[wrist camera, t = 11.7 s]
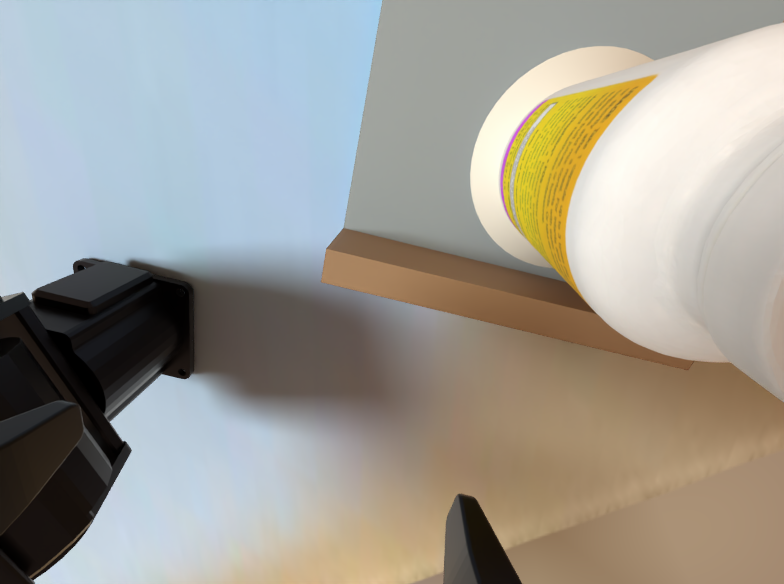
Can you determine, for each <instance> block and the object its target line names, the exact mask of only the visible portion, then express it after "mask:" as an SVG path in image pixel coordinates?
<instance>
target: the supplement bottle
mask: <svg viewBox="0 0 784 584" xmlns="http://www.w3.org/2000/svg"><path fill="white" fill-rule="evenodd" d="M498 185H499V193H500V198H501V202H502V205H503V208H504V210H505V213H506V215H507V216H508V218H509V220H510V221H511V223H512V224H513V225H514V227H515V228H516V229H517V230H518V231H519V232H520V234H521V235H522V236H523V237H524V238H525V239H526V240H527V241H528V242H529V243H530V244H531V245H532V246H533V247H534V248H535V249H536V250H537V251H538V252H539V253H540V254H541V255H542V256H543V258H544V259H545V260H546V261H547V262H548V263H549V264H550V265H551V266H552V267H553V268H554V269H555V270H556V271H557V272H558V273H559V274H560V275H561V276H562V277H563V278H564V280H565V281H566V282H567V283H568V284H569V285H570V286H571V287H572V288H573V289H574V290H575V291H576V292H577V293H578V294H579V295H580V296H581V298H582V299H583V300H584V301H585V302H586V303H587V304H588V305H589V306H590V307H591V308H592V309H593V310H594V311H595V312H596V313H597V314H598V315H599V316H600V317H601V318H602V319H603V320H604V321H605V322H606V323H607V324H608V325H609V326H610V327H612V328H613V329H614V330H616V331H617V332H619V333H620V334H621V335H623V336H624V337H626V338H628V339H629V340H631V341H633V342H634V343H636V344H638V345H641V346H643V347H645V348H648V349H650V350H653V351H655V352H658V353H661V354H664V355H667V356H671V357H676V358H681V359H686V360H693V361H703V362H731V363H732V364H733V365H734V366H736V367H737V368H738V369H739V370H741V371H742V372H743V373H745V374H746V375H747V376H749V377H750V378H751V379H753V380H754V381H755V382H757V383H758V384H759V385H761V386H762V387H763V388H765V389H766V390H767V391H769V392H770V393H771V394H773V395H774V396H776V397H777V398H778V399H780V400H781V401H782V402H784V23H779V24H774V25H770V26H766V27H763V28H760V29H756V30H753V31H749V32H746V33H743V34H740V35H736V36H733V37H730V38H727V39H724V40H720V41H717V42H714V43H711V44H708V45H704V46H701V47H698V48H695V49H691V50H688V51H685V52H681V53H678V54H675V55H671V56H668V57H665V58H661V59H658V60H655V61H651V62H648V63H645V64H641V65H638V66H634V67H631V68H628V69H625V70H621V71H618V72H615V73H611V74H608V75H605V76H601V77H598V78H595V79H591V80H587V81H584V82H581V83H578V84H574V85H571V86H569V87H566V88H563V89H561V90H559V91H557V92H555V93H553V94H552V95H550V96H548V97H547V98H545V99H544V100H542V101H541V102H540V103H538V104H537V105H536V106H535V107H534V108H533V109H531V110H530V111H529V112H528V113H527V114H526V115H525V116H524V118H523V119H522V120H521V121H520V122H519V124H518V125H517V127H516V128H515V130H514V131H513V133H512V134H511V136H510V138H509V140H508V142H507V144H506V146H505V149H504V152H503V155H502V158H501V162H500V168H499V176H498Z"/></svg>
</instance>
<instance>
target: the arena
mask: <svg viewBox="0 0 784 584" xmlns="http://www.w3.org/2000/svg"><path fill="white" fill-rule="evenodd" d="M779 23H784V0H383V1H382V7H381V12H380V18H379V24H378V30H377V36H376V42H375V47H374V53H373V59H372V65H371V71H370V77H369V83H368V88H367V94H366V100H365V106H364V112H363V118H362V124H361V129H360V135H359V141H358V147H357V153H356V159H355V164H354V170H353V176H352V182H351V188H350V194H349V200H348V205H347V211H346V217H345V223H344V228H343V229H342V231H341V232H340V233H339V234H338V235H337V237H336V238H335V239H334V240H333V241H332V243H331V244H330V245H329V246H328V247H327V248H326V254H325V260H324V267H323V273H322V280H321V282H323V283H327V284H331V285H335V286H339V287H344V288H348V289H352V290H356V291H360V292H364V293H369V294H373V295H377V296H381V297H385V298H389V299H394V300H398V301H402V302H406V303H410V304H414V305H418V306H423V307H427V308H431V309H435V310H439V311H443V312H448V313H452V314H456V315H460V316H464V317H468V318H473V319H477V320H481V321H485V322H489V323H493V324H498V325H502V326H506V327H510V328H514V329H518V330H523V331H527V332H531V333H535V334H539V335H543V336H547V337H552V338H556V339H560V340H564V341H568V342H572V343H577V344H581V345H585V346H589V347H593V348H597V349H602V350H606V351H610V352H614V353H618V354H622V355H627V356H631V357H635V358H639V359H643V360H647V361H652V362H656V363H660V364H664V365H668V366H672V367H677V368H681V369H685V370H688V369H689V368H690V366H691V365H692V364H693V362H694V361H693V360H686V359H681V358H676V357H671V356H667V355H664V354H661V353H658V352H655V351H653V350H650V349H648V348H645V347H643V346H641V345H638V344H636V343H634V342H633V341H631V340H629V339H628V338H626V337H624V336H623V335H621V334H620V333H619V332H617V331H616V330H614V329H613V328H612V327H610V326H609V325H608V324H607V323H606V322H605V321H604V320H603V319H602V318H601V317H600V316H599V315H598V314H597V313H596V312H595V311H594V310H593V309H592V308H591V307H590V306H589V305H588V304H587V303H586V302H585V301H584V300H583V299H582V298H581V296H580V295H579V294H578V293H577V292H576V291H575V290H574V289H573V288H572V287H571V286H570V285H569V284H568V283H567V282H566V281H565V280H564V278H563V277H562V276H561V275H560V274H559V273H558V272H557V271H556V270H555V269H554V268H553V267H552V266H551V265H550V264H549V263H548V262H547V261H546V260H545V259H544V258H543V256H542V255H541V254H540V253H539V252H538V251H537V250H536V249H535V248H534V247H533V246H532V245H531V244H530V243H529V242H528V241H527V240H526V239H525V238H524V237H523V236H522V235H521V234H520V232H519V231H518V230H517V229H516V228H515V227H514V225H513V224H512V223H511V221H510V220H509V218H508V216H507V215H506V213H505V210H504V208H503V205H502V202H501V198H500V193H499V185H498V176H499V168H500V162H501V158H502V155H503V152H504V149H505V146H506V144H507V142H508V140H509V138H510V136H511V134H512V133H513V131H514V130H515V128H516V127H517V125H518V124H519V122H520V121H521V120H522V119H523V118H524V116H525V115H526V114H527V113H528V112H529V111H530V110H531V109H533V108H534V107H535V106H536V105H537V104H538V103H540V102H541V101H542V100H544V99H545V98H547V97H548V96H550V95H552V94H553V93H555V92H557V91H559V90H561V89H563V88H566V87H569V86H571V85H574V84H578V83H581V82H584V81H587V80H591V79H595V78H598V77H601V76H605V75H608V74H611V73H615V72H618V71H621V70H625V69H628V68H631V67H634V66H638V65H641V64H645V63H648V62H651V61H655V60H658V59H661V58H665V57H668V56H671V55H675V54H678V53H681V52H685V51H688V50H691V49H695V48H698V47H701V46H704V45H708V44H711V43H714V42H717V41H720V40H724V39H727V38H730V37H733V36H736V35H740V34H743V33H746V32H749V31H753V30H756V29H760V28H763V27H766V26H770V25H774V24H779Z"/></svg>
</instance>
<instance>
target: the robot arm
mask: <svg viewBox="0 0 784 584" xmlns="http://www.w3.org/2000/svg"><path fill="white" fill-rule="evenodd" d="M84 267H85V268H86V269H85V268H84ZM73 270H74V274H72V275H69V276H67V277H64V278H62V279H59V280H57V281H54V282H52V283H50V284H47V285H45V286H42V287H40V288H37V289H36V290H35V291H33V292H32V298H33V299H32V300H30V301H29V299H28V298H27V296H26V295H25V293H24V292H21V293H17V294H13V295H9V296H4V297H1V296H0V584H35V582H34V581H33V580H34V579H36V578H37V577H39V576H40V575H41V574H43V573H44V572H46V571H47V570H48V569H50V568H51V567H52V566H53V565H54V564H56V563H57V562H58V561H59V560H61V559H62V558H63V557H64V556H65V555H66V554H67V553H68V552H69V551H70V550H71V549H72V548H73V547H74V546H75V545H76V544H77V542H78V541H79V540H80V539H81V538H82V537H83V535H84V534H85V533H86V531H87V530H88V528H89V527H90V525H91V524H92V522H93V520H94V518H95V516H96V514H97V513H98V511H99V509H100V507H101V505H102V504H103V502H104V500H105V498H106V496H107V495H108V493H109V491H110V489H111V487H112V486H113V484H114V482H115V480H116V478H117V477H118V475H119V473H120V471H121V469H122V468H123V466H124V464H125V462H126V460H127V459H128V457H129V455H130V453H131V451H132V450H131V448H130V447H129V445H128V444H127V443H126V441H122V439H121V438H120V437H119V435H118V434H117V432H116V431H115V429H114V428H113V426H112V425H111V423H110V421H111V420H112V419H113V418H114V417H116V416H117V415H118V414H119V413H120V412H121V411H122V410H123V409H124V408H125V407H126V406H127V405H129V404H130V403H131V402H132V401H133V400H134V399H135V398H136V397H137V396H138V395H139V394H140V393H142V392H143V391H144V390H145V389H146V388H147V387H148V386H149V385H150V384H151V383H152V382H153V381H155V380H156V379H157V378H158V377H159V376H160V375H161V374H164V375H168V376H172V377H177V378H181V379H187V378H189V377H190V376H191V374H192V373H193V372H194V309H193V288H192V287H191V286H190V285H189V284H188V283H186V282H183V281H179V280H174V279H170V278H166V277H162V276H158V275H154V274H152V273H150V272H148V271H145V270H141V269H137V268H133V267H129V266H124V265H120V264H116V263H112V262H108V261H103V262H99V261H95V260H91V259H86V258H83V259H81V260H78V261H76V262H74V264H73ZM180 289H182V290H183V291H184V292H185V294H184V293H182V292H181V290H180ZM184 370H185V371H186V372H185V371H184ZM443 584H522V583H521V581H520V579H519V577H518V575H517V573H516V571H515V570H514V568H513V566H512V564H511V562H510V560H509V559H508V557H507V555H506V553H505V551H504V549H503V547H502V546H501V544H500V542H499V540H498V538H497V536H496V535H495V533H494V531H493V529H492V527H491V525H490V523H489V522H488V520H487V518H486V516H485V514H484V512H483V511H482V509H481V507H480V505H479V503H478V501H477V500H476V499H475V498H474V497H472V496H468V495H464V494H458V495H457V496H456V498H455V500H454V502H453V504H452V507H451V509H450V511H449V513H448V516H447V520H446V534H445V557H444V580H443Z"/></svg>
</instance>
